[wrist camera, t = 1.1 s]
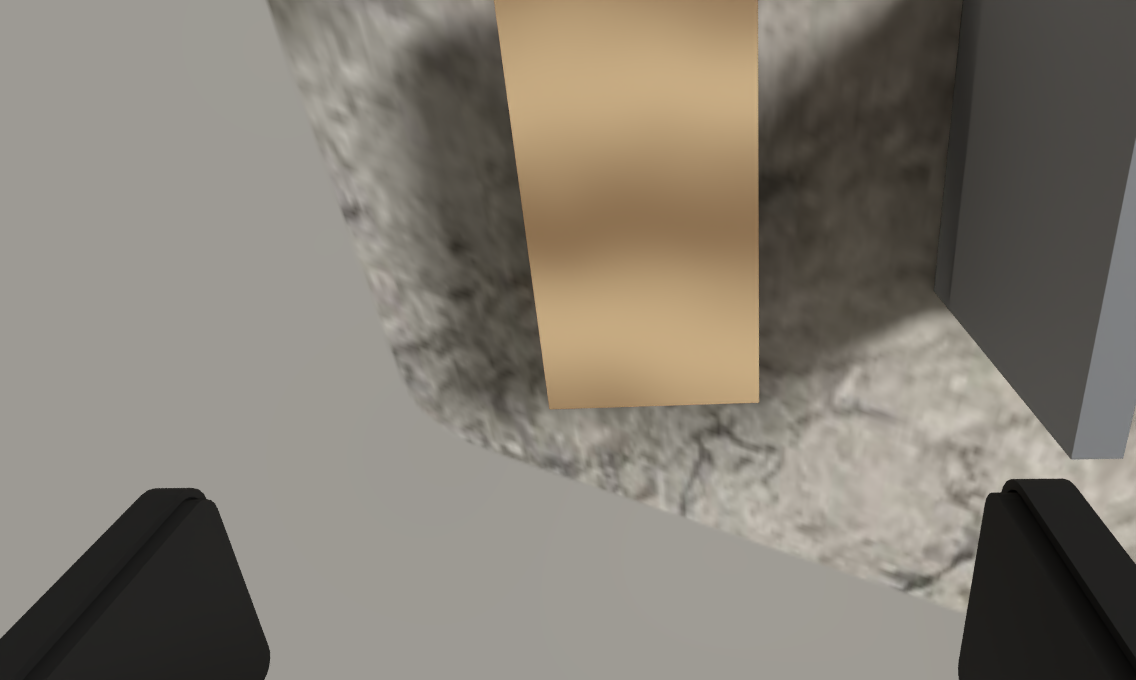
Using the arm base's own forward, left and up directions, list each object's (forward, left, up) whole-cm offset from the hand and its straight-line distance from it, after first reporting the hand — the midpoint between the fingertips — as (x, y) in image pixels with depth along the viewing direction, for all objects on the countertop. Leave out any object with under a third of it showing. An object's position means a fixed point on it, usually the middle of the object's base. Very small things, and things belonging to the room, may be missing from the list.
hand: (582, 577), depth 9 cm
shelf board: (-1, 0, -14) cm, 14 cm away
